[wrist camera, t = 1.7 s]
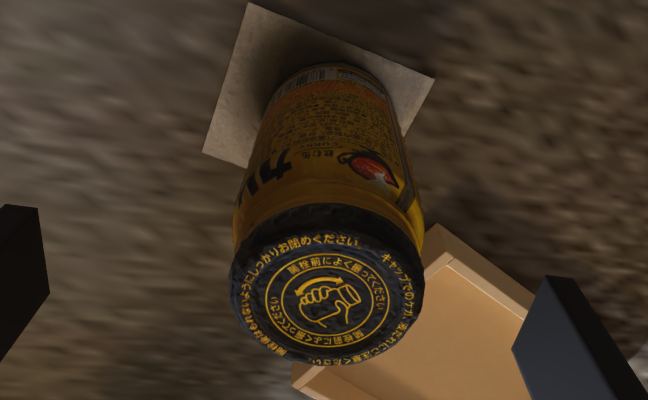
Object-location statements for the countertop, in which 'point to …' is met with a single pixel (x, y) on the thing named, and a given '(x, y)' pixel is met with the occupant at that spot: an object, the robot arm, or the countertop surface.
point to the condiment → (320, 192)
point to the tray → (441, 337)
